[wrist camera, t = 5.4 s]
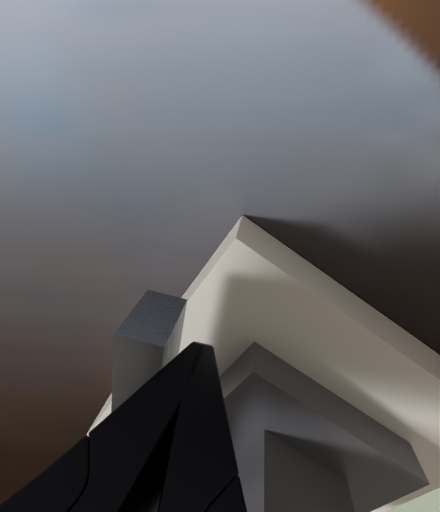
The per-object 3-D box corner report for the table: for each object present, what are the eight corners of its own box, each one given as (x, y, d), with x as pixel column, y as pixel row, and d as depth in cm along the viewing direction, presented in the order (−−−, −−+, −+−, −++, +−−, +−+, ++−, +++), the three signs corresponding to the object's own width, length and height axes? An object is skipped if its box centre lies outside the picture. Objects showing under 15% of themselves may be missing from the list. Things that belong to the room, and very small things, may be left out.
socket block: (289, 493, 19) (293, 553, 16) (113, 389, 17) (85, 436, 15) (478, 382, 13) (533, 445, 10) (242, 214, 12) (235, 238, 9)
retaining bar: (168, 483, 15) (140, 582, 11) (136, 474, 15) (99, 569, 12) (208, 276, 9) (177, 350, 6) (157, 264, 9) (100, 330, 6)
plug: (282, 458, 17) (298, 736, 9) (174, 393, 16) (87, 637, 8) (384, 389, 14) (546, 728, 6) (256, 303, 13) (243, 563, 5)
